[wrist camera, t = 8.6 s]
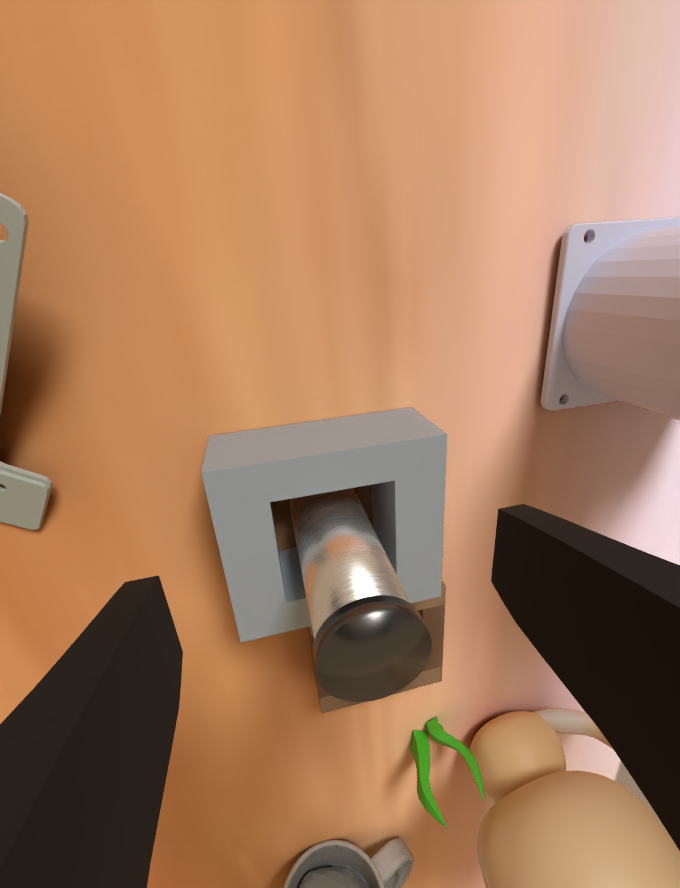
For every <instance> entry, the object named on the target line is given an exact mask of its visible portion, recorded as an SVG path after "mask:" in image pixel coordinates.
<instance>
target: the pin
mask: <svg viewBox="0 0 680 888" xmlns="http://www.w3.org/2000/svg"><path fill="white" fill-rule="evenodd" d="M290 512H291V517H292V523H293V528H294V534H295V539H296V544H297V550H298V555H299V560H300V566H301V571H302V576H303V582H304V587H305V593H306V598H307V603H308V609H309V614H310V619H311V625H312V630H313V636H314V644H313V654H314V660H315V665H316V671H317V677H318V680H319V683H320V684H321V686H322V688H323V689H324V690H325V691H326V692H327V693H329V694H330V695H332V696H333V697H335V698H338V699H341V700H344V701H350V702H367V701H373V700H377V699H381V698H384V697H387V696H389V695H392V694H394V693H396V692H398V691H399V690H401V689H403V688H404V687H406V686H407V685H409V684H410V683H411V682H412V681H414V680H415V679H416V678H417V677H418V676H419V674H420V673H421V672H422V671H423V669H424V668H425V666H426V665H427V663H428V661H429V658H430V655H431V651H432V640H431V636H430V633H429V631H428V629H427V627H426V625H425V624H424V622H423V620H422V618H421V616H420V614H419V612H418V610H417V609H416V608H415V607H414V606H413V605H412V604H411V603H410V601H409V599H408V597H407V595H406V593H405V591H404V589H403V587H402V585H401V583H400V581H399V579H398V577H397V575H396V573H395V571H394V569H393V567H392V565H391V563H390V561H389V559H388V557H387V555H386V553H385V551H384V549H383V547H382V545H381V543H380V541H379V539H378V537H377V535H376V533H375V531H374V529H373V527H372V525H371V523H370V521H369V519H368V517H367V515H366V512H365V510H364V508H363V506H362V504H361V502H360V500H359V498H358V496H357V494H356V492H355V490H354V488H349V489H343V490H338V491H332V492H326V493H320V494H315V495H309V496H303V497H297V498H292V499H290Z"/></svg>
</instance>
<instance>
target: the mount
mask: <svg viewBox="0 0 680 888" xmlns="http://www.w3.org/2000/svg"><path fill="white" fill-rule="evenodd" d="M445 590H446V586H445V584H444V583H443V581H442V582H441V596H440V597H436V598H432V599H427V600H423V601H419V602H414V603H411V604H412V605H413V606H414V607H415V608H416V609H417V610H418V612H419V614H420V616H421V618H422V620H423V622H424V624H425V625H426V627H427V629H428V631H429V633H430V636H431V640H432V651H431V655H430V658H429V661H428V663H427V665H426V666H425V668H424V669H423V671H422V672H421V673H420V674H419V676H418V677H417V678H416V679H415V680H414V681H412V682H411V683H410V684H409V685H407V686H406V687H404V688H403V689H401V690H399V691H398V692H396V693H399V692H403V691H407V690H410V689H414V688H418V687H421V686H425V685H429V684H433V683H436V682H440V681H442V660H443V637H444V614H445ZM308 629H309V636H310V643H311V651H312V658H313V665H314V673H315V680H316V685H317V691H318V696H319V702H320V707H321V713H325V712H329V711H333V710H336V709H340V708H344V707H347V706H351V705H355V704H359V703H362V702H350V701H344V700H341V699H338V698H335V697H333V696H332V695H330V694H329V693H327V692H326V691H325V690H324V689H323V688H322V686H321V684H320V683H319V680H318V677H317V671H316V665H315V660H314V654H313V644H314V636H313V630H312V626H310V627H308ZM396 693H394V694H396Z"/></svg>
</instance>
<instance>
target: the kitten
mask: <svg viewBox="0 0 680 888" xmlns="http://www.w3.org/2000/svg"><path fill="white" fill-rule="evenodd" d="M426 727H427V730H428V732H429V734H430V736H431V737H432V739H433V740H434V741H435V742H438V743H440V744H442V745H444V746H447V747H450V748H453V749H455V750H457V751H458V752H459V753H460V754H461V755H462V756H463V757H464V758H465V760H466V762H467V764H468V767H469V770H470V773H471V775H472V777H473V779H474V780H475V782H476V783H477V785H478V787H479V790H480V793H481V796H482V799H483V802H484V792H485V793H486V794H487V795H488V796H489V797H490V798H491V799H492V800H494V801H495V802H496V804H495V805H494V806H493V807H492V808H491V809H490V810H489V811H488V813H487V814H486V816H485V817H484V819H483V821H482V824H481V826H480V830H479V834H478V858H479V864H480V868H481V872H482V876H483V879H484V882H485V885H486V888H680V851H679V849H678V848H677V846H676V844H675V843H674V841H673V840H672V838H671V837H670V835H669V834H668V832H667V831H666V830H665V828H664V827H663V825H662V824H661V823H660V821H659V820H658V819H657V817H656V816H655V815H654V814H653V813H652V812H651V810H650V809H649V808H648V807H647V806H646V805H645V804H644V803H643V802H642V801H641V800H640V799H639V798H638V797H637V796H636V795H634V794H633V793H632V792H631V791H629V790H628V789H627V788H625V787H624V786H622V785H621V784H619V783H617V782H615V781H614V780H612V779H609V778H607V777H605V776H602V775H599V774H595V773H591V772H585V771H566V762H565V756H564V751H563V747H562V744H561V741H560V738H559V736H558V734H557V732H559V733H567V734H579V735H587V736H590V737H593V738H596V739H598V740H600V741H601V742H603V743H605V744H606V745H608V746H609V747H611V748H612V746H611V745H610V744H609V742H608V741H607V739H606V738H605V737H604V735H603V734H602V733H601V731H600V730H599V729H598V727H597V726H596V724H595V723H594V722H593V721H592V719H591V718H590V717H589V715H588V714H587V713H584V712H580V711H575V710H570V709H563V708H551V709H544V710H539V711H534V712H528V711H516V712H510V713H506V714H503V715H500V716H498V717H496V718H494V719H492V720H491V721H489V722H487V723H486V724H485V725H484V726H482V727H481V728H480V729H479V731H478V732H477V733H476V735H475V737H474V739H473V741H472V743H471V746H470V749H468V748H467V747H466V746H465V744H464V743H462V742H461V741H459V740H457V739H456V738H454V737H452V736H451V735H449V734H448V733H446V732H445V731H444V730H443V727H442V725H440V724H439V723H438V720H437V717H436V718H434V719H432V720H430V721H429V722H427V723H426ZM410 748H411V751H412V753H413V756H414V758H415V763H416V768H417V792H418V797H419V800H420V801H421V803H422V804H423V806H424V808H425V809H426V810H427V811H428V812H429V813H430V814H431V815H432V816H433V817H434V818H435V819H436V820H437V821H438V822H439V823H441V824H442V825H443V826H445V827H446V824H445V822H444V819H443V817H442V815H441V813H440V811H439V808H438V806H437V804H436V802H435V800H434V797H433V795H432V792H431V788H430V783H429V772H430V749H429V742H428V738H427V733H426V731H416V730H413V734H412V742H411V745H410ZM612 749H613V748H612ZM446 828H447V827H446Z"/></svg>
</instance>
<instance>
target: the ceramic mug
mask: <svg viewBox="0 0 680 888" xmlns="http://www.w3.org/2000/svg"><path fill="white" fill-rule="evenodd" d="M412 865H413V855H412V853H411V852H410V850H409V849H408V848H407V846H406V845H405V843H404V842H403V841H402V839H401V838H395V839H392V840H391V841H389V842H388V843H386V844H385V845H384V846H383V847H382V848H381V849H380V850H379V851H378V852H377V853H376V854H375V855H374V856H373V857H372V858H371V859H370V857H369V856H368V855H367V854H366V853H365V852H364V851H363V850H361V849H360V848H359V847H358V846H356V845H354V844H352V843H350V842H347V841H343V840H327V841H323V842H320V843H318V844H316V845H314V846H312V847H310V848H309V849H308V850H307V851H305V852H304V853H303V854H302V855H301V856H300V857H299V858H298V860H297V861H296V862H295V863H294V865H293V867H292V868H291V870H290V872H289V874H288V876H287V878H286V880H285V883H284V886H283V888H402V886H403V884H404V883H405V881H406V880H407V878H408V876H409V874H410V871H411V869H412Z"/></svg>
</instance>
